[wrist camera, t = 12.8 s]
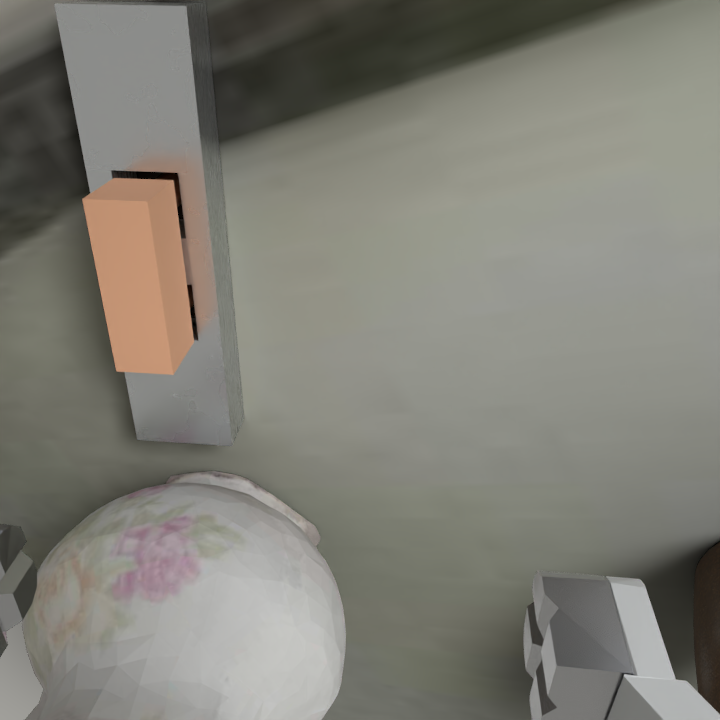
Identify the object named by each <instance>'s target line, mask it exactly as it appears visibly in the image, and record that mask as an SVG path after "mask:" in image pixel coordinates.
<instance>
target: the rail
mask: <svg viewBox="0 0 720 720" xmlns="http://www.w3.org/2000/svg"><path fill="white" fill-rule="evenodd" d="M54 6H55V11H56V16H57V22H58V27H59V32H60V37H61V43H62V48H63V53H64V58H65V63H66V69H67V74H68V79H69V84H70V90H71V95H72V100H73V105H74V111H75V116H76V121H77V126H78V132H79V137H80V142H81V147H82V153H83V158H84V163H85V168H86V173H87V179H88V184H89V189H90V193H92V192H93V191H95V190H96V189H98V188H100V187H101V186H103V185H104V184H106V183H107V182H109V181H110V180H112V179H113V178H129V179H137V172H136V171H143V172H171V173H178V177H179V185H180V193H181V202H182V210H183V218H184V219H179V227H180V235H181V243H182V251H183V258H184V266H185V274H186V282H187V285H192V291H193V299H194V307H195V315H196V316H191V321H192V329H193V337H194V343H193V345H192V346H191V348H190V349H189V351H188V353H187V354H186V356H185V357H184V359H183V360H182V362H181V364H180V365H179V367H178V368H177V370H176V371H175V373H174V375H168V374H151V373H134V372H125V378H126V383H127V388H128V393H129V399H130V404H131V409H132V414H133V420H134V425H135V430H136V435H137V440H148V441H163V442H178V443H193V444H208V445H223V446H232V445H233V443H234V441H235V438H236V436H237V433H238V431H239V429H240V426H241V424H242V421H243V419H244V414H243V403H242V392H241V381H240V370H239V359H238V348H237V337H236V326H235V315H234V304H233V293H232V282H231V271H230V260H229V249H228V238H227V227H226V216H225V205H224V194H223V183H222V172H221V161H220V150H219V139H218V128H217V117H216V106H215V95H214V84H213V73H212V62H211V51H210V40H209V29H208V18H207V7H206V3H181V2H124V1H77V2H66V3H56V4H54Z"/></svg>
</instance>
